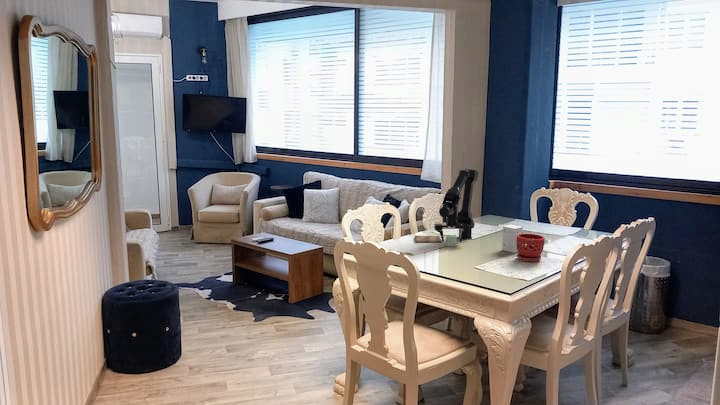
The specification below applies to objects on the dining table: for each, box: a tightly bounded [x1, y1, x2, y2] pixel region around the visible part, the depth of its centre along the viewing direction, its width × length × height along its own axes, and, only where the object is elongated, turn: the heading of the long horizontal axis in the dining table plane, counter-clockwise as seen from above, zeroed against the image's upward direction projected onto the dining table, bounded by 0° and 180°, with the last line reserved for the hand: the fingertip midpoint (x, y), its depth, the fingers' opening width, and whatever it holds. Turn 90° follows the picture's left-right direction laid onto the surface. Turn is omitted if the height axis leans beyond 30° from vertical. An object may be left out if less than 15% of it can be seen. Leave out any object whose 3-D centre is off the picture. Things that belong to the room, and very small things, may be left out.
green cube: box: [445, 234, 458, 247], centre depth 304 cm, size 5×5×5 cm
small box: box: [501, 224, 524, 254], centre depth 290 cm, size 8×6×13 cm
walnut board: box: [414, 235, 443, 244], centre depth 314 cm, size 14×12×1 cm
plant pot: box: [516, 233, 546, 263], centre depth 274 cm, size 13×13×12 cm
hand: (451, 242), depth 304 cm, fingers open, 9 cm apart
